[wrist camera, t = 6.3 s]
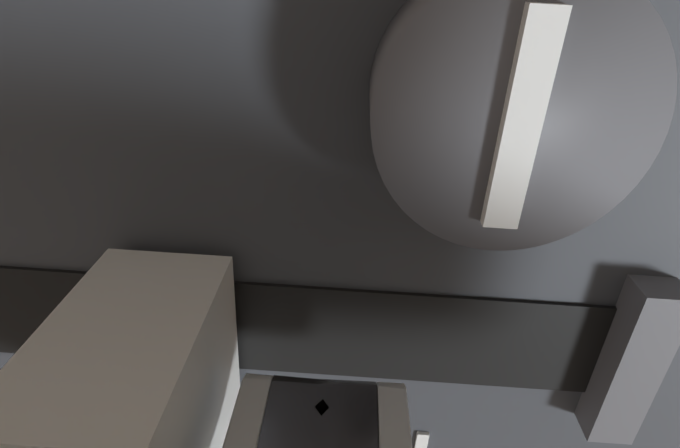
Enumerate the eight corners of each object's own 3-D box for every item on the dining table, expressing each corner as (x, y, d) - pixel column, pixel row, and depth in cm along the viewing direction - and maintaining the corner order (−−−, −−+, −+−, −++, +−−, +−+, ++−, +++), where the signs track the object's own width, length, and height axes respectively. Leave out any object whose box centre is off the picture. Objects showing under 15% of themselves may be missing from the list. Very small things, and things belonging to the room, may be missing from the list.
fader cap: (108, 248, 10) (-68, 447, 6) (232, 256, 10) (141, 460, 6) (136, 392, 12) (17, 618, 8) (240, 399, 12) (176, 630, 8)
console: (-466, -153, 10) (-1170, -247, 5) (844, -81, 10) (1279, -117, 5) (-132, 429, 18) (-301, 590, 13) (592, 481, 18) (672, 664, 13)
